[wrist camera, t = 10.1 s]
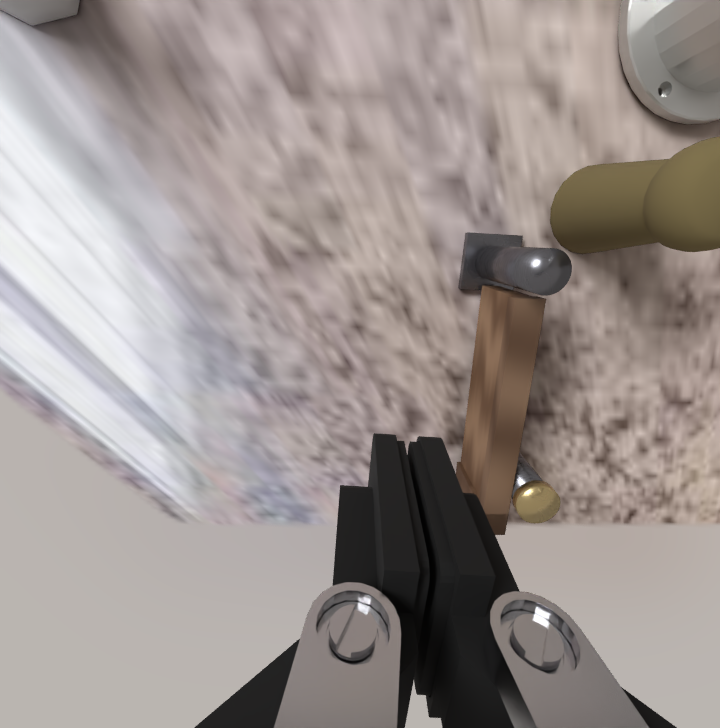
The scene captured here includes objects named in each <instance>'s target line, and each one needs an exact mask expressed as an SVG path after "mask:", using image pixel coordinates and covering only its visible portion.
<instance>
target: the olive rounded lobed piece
mask: <svg viewBox="0 0 720 728" xmlns="http://www.w3.org/2000/svg"><path fill="white" fill-rule="evenodd" d="M550 223H551V227H552V231H553V234H554V236H555V238H556V239H557V240H558V242H559V243H560V245H562V246H563V247H565V248H566V249H568V250H569V251H571V252H576V253H580V254H586V253H594V252H600V251H607V250H613V249H619V248H625V247H632V246H638V245H644V244H650V243H657V242H659V243H661V244H662V245H664V246H666V247H669V248H672V249H676V250H681V251H685V252H699V251H707V250H713V249H717V248H720V137H714V138H710V139H706V140H703V141H700V142H698V143H696V144H694V145H692V146H689V147H687V148H685V149H683V150H682V151H680V152H678V153H677V154H675V155H674V156H673V157H671V158H670V159H664V160H651V161H638V162H625V163H612V164H600V165H592V166H587V167H585V168H583V169H581V170H579V171H576V172H575V173H573V174H572V175H571V176H570V177H569V178H568V179H567V180H566V181H564V183H563V184H562V186H561V187H560V189H559V190H558V192H557V193H556V195H555V198H554V201H553V204H552V207H551V218H550Z"/></svg>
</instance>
